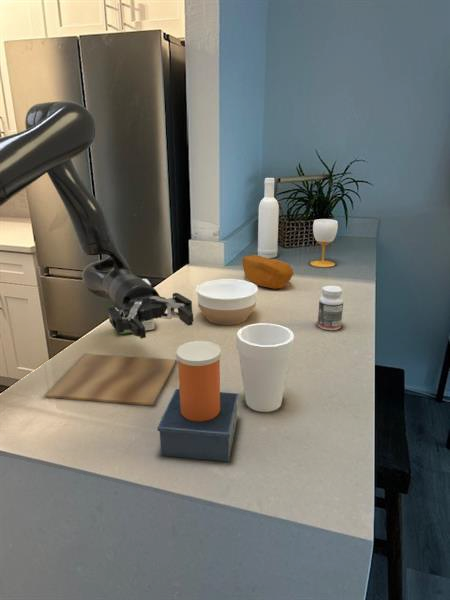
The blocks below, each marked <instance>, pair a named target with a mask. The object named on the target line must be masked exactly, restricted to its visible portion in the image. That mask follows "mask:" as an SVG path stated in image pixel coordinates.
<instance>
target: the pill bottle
mask: <svg viewBox="0 0 450 600" xmlns="http://www.w3.org/2000/svg"><path fill="white" fill-rule="evenodd" d="M321 294H322V295H321V296H320V297H319V301H318V313H317V326H318V327H319V328H320V329H322V330H326V331H338V330H339V329H340V328H342V324H343V323H342V320H343V311H344V298H343V297H342V294H343V288H342V287H341V286H337V285H329V284H328V285H324V286H322V289H321Z"/></svg>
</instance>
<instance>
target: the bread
mask: <svg viewBox="0 0 450 600" xmlns="http://www.w3.org/2000/svg"><path fill="white" fill-rule="evenodd" d="M241 259H242V261H241V262H242V269H243V273H244V275H245V278H246V279H247V281H248V282H251V283H253V284H255V285H256V286H259V287H263V288H269V289H273V290H274V289H275V290H276V289H282V288H284V287H285V286H286V285H287V284H288V283H289V282H290V281H291V280H292V277H293V275H294V269H293V268H292V266H291V265H289V264H288V263H287V262H285V261H282V260H279V259H274V258H266V257H262V256H259V255H258V254H251V255H246V256H243V257H242V258H241Z"/></svg>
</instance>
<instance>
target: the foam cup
mask: <svg viewBox="0 0 450 600" xmlns="http://www.w3.org/2000/svg"><path fill="white" fill-rule="evenodd" d="M294 339H295V333H294V332H293V331H292V330H291V329H290V328H288V327H285V326H283V325H280V324H276V323H270V322H264V323H263V322H262V323H260V322H259V323H257V322H256V323H251V324H247V325H245V326H243V327H241V328H240V329H238V331H237V333H236V349H237V350H238V357H239V363H240V372H241V379H242V387H243V394H244V399H245V403H246V405H247V407H248V408H250V409H251V410H252V411H257V412H261V413H265V412H266V413H267V412H269V413H270V412H273V411H276V410H278V409H279V408H280V407H281V406H282V402H283V397H284V392H285V386H286V382H287V377H288V373H289V371H288V370H289V367H290V361H291V357H292V355H291V354H292V353H293V352H294V351H293V350H294V342H295V341H294Z"/></svg>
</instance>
